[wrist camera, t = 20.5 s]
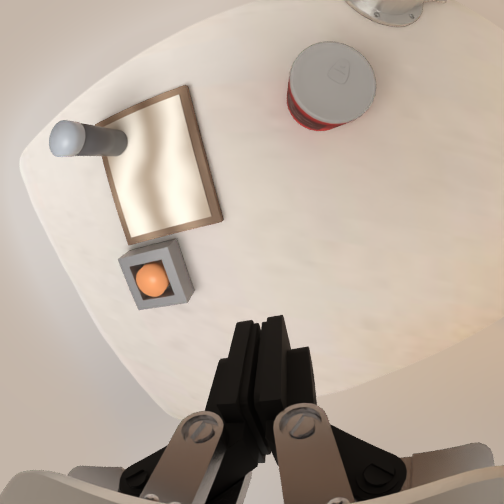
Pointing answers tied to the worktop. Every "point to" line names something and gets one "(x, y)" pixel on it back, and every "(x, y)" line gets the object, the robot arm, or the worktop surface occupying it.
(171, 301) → the button housing
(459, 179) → the worktop surface
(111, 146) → the grey tall cylinder
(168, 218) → the board
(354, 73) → the canned food
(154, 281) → the button
